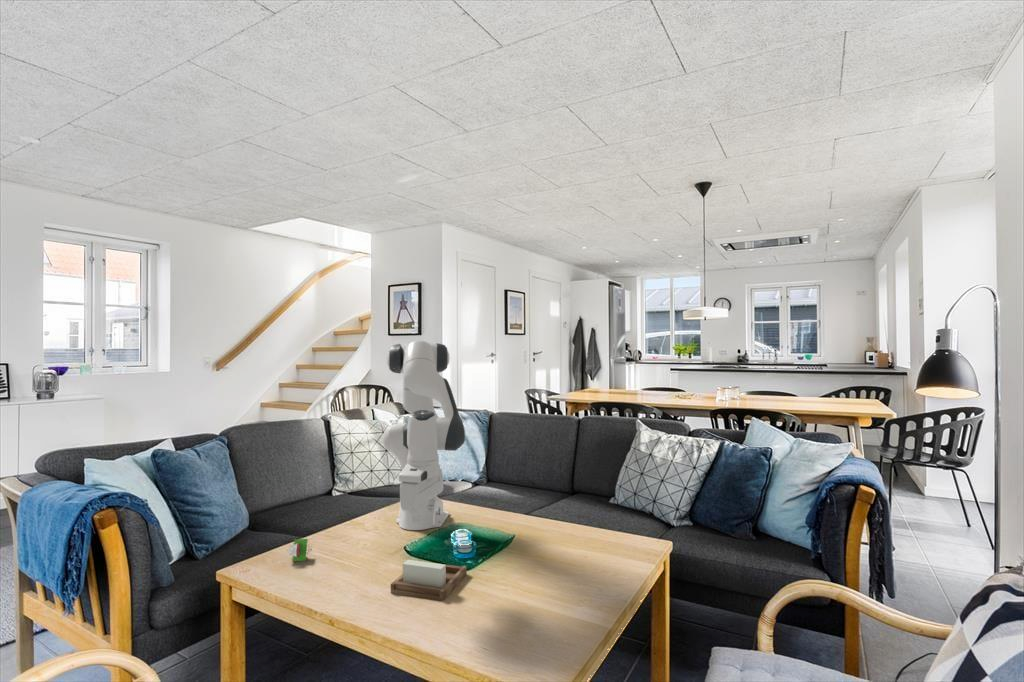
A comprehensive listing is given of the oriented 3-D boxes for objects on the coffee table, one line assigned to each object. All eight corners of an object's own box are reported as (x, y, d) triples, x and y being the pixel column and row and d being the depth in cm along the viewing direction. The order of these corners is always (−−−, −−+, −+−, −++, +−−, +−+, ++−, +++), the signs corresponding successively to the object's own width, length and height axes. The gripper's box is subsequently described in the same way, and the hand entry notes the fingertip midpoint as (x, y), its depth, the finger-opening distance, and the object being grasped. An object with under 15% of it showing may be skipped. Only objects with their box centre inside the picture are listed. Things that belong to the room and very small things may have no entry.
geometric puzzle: (294, 547, 181) (289, 533, 176) (315, 546, 182) (310, 532, 177) (289, 567, 176) (283, 553, 171) (310, 566, 176) (306, 552, 171)
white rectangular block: (408, 580, 159) (408, 559, 159) (445, 585, 155) (445, 564, 155) (403, 584, 156) (402, 563, 156) (441, 590, 152) (441, 569, 152)
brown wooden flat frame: (418, 567, 169) (418, 559, 169) (466, 574, 164) (466, 566, 164) (390, 593, 153) (390, 584, 153) (442, 600, 148) (442, 591, 148)
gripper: (429, 459, 166) (429, 504, 166) (395, 476, 146) (396, 528, 146) (448, 460, 164) (448, 506, 164) (416, 478, 144) (417, 530, 145)
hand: (423, 516), depth 155 cm, fingers open, 8 cm apart
